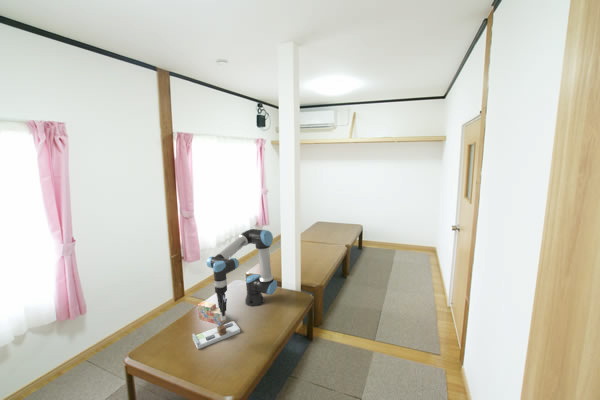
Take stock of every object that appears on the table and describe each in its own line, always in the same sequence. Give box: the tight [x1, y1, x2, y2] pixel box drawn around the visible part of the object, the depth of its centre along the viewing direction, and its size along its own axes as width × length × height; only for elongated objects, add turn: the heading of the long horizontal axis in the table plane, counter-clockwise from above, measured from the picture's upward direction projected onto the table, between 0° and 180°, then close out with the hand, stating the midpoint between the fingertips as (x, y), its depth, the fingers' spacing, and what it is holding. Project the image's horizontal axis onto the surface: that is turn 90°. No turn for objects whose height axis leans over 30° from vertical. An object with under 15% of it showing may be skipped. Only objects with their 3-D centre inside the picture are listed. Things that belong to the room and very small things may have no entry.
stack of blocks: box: [197, 300, 227, 326], centre depth 209 cm, size 21×6×12 cm, turn 65°
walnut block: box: [217, 323, 226, 336], centre depth 189 cm, size 4×4×4 cm
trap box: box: [192, 320, 241, 350], centre depth 190 cm, size 29×12×4 cm, turn 125°
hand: (223, 319), depth 180 cm, fingers closed
